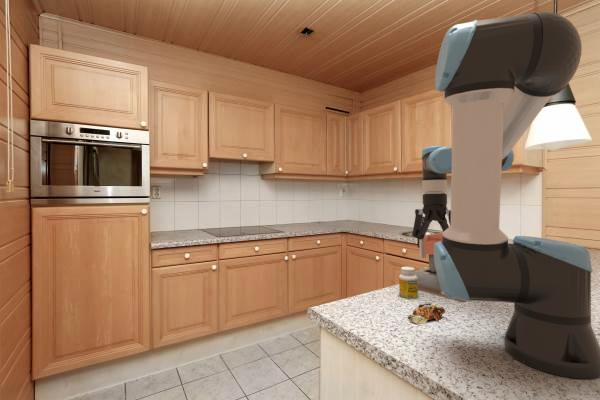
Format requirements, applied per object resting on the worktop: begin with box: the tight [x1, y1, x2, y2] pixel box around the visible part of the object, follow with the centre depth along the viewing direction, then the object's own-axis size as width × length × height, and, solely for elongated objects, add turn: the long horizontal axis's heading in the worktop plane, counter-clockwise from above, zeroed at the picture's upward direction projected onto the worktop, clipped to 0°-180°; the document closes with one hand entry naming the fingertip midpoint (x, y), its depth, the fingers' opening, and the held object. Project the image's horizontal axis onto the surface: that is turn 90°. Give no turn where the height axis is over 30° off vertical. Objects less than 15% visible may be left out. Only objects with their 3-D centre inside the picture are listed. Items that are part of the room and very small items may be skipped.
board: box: [418, 287, 467, 303], centre depth 100 cm, size 16×19×1 cm
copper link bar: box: [423, 231, 443, 274], centre depth 103 cm, size 11×5×18 cm, turn 124°
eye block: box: [414, 266, 442, 293], centre depth 103 cm, size 10×10×5 cm
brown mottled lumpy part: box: [407, 301, 446, 326], centre depth 80 cm, size 7×12×4 cm, turn 133°
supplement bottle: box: [398, 266, 419, 300], centre depth 94 cm, size 5×5×10 cm
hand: (435, 259), depth 103 cm, fingers open, 9 cm apart
